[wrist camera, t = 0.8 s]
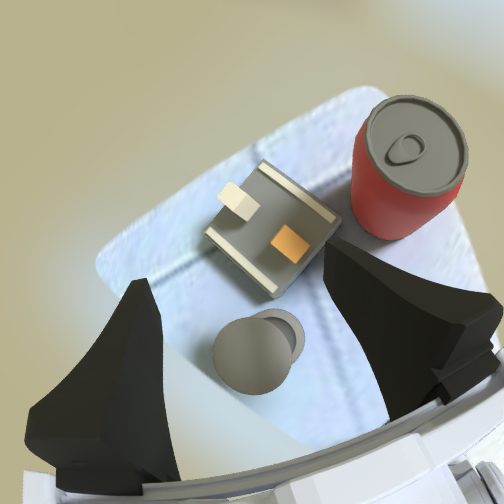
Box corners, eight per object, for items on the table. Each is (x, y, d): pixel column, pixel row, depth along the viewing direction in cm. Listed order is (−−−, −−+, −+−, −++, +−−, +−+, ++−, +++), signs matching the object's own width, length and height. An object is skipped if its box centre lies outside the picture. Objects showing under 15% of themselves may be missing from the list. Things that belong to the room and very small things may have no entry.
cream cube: (260, 205, 23) (247, 193, 21) (247, 221, 23) (233, 211, 22) (243, 192, 24) (230, 180, 23) (231, 207, 24) (216, 197, 23)
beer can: (335, 190, 25) (326, 121, 14) (395, 153, 24) (420, 69, 12) (377, 256, 24) (407, 234, 12) (437, 215, 22) (499, 166, 11)
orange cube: (306, 243, 22) (310, 245, 20) (293, 259, 23) (295, 263, 21) (283, 224, 22) (285, 224, 20) (270, 241, 23) (270, 243, 21)
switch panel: (341, 223, 25) (341, 216, 22) (280, 297, 26) (272, 299, 23) (270, 169, 27) (262, 157, 24) (214, 237, 28) (200, 233, 25)
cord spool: (317, 336, 24) (308, 356, 18) (276, 379, 25) (253, 409, 18) (271, 295, 26) (246, 300, 19) (233, 339, 26) (198, 356, 20)
